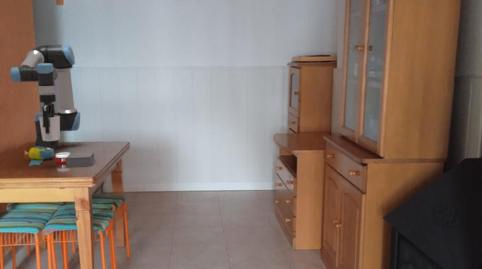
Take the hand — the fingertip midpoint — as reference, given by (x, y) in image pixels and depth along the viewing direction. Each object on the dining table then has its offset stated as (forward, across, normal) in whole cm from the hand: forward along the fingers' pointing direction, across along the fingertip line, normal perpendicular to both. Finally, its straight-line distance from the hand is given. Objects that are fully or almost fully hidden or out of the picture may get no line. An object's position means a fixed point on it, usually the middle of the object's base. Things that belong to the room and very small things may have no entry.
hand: (51, 137), depth 231 cm
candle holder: (+1, 0, 0) cm, 1 cm away
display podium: (+15, +3, -13) cm, 20 cm away
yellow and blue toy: (+17, +20, +12) cm, 28 cm away
